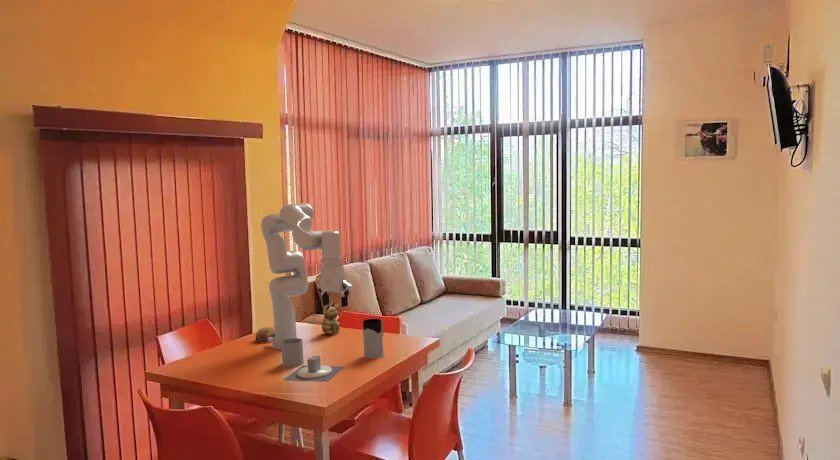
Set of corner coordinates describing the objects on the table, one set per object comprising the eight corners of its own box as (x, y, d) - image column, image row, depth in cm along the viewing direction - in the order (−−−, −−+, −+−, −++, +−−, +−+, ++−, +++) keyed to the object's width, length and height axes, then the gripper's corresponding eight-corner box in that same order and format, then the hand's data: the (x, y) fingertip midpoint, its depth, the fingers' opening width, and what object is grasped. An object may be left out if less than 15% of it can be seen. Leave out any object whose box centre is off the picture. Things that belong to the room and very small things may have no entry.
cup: (306, 362, 258) (304, 338, 257) (300, 368, 250) (299, 343, 249) (286, 362, 259) (284, 338, 258) (279, 368, 250) (278, 343, 250)
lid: (291, 378, 235) (290, 362, 235) (305, 367, 248) (304, 352, 247) (324, 379, 232) (323, 363, 232) (336, 368, 245) (335, 353, 244)
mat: (282, 381, 233) (282, 380, 233) (302, 366, 251) (302, 365, 251) (327, 383, 229) (327, 381, 229) (345, 368, 247) (345, 366, 247)
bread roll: (255, 347, 299) (248, 334, 296) (271, 334, 305) (264, 321, 302) (267, 351, 292) (259, 337, 289) (283, 337, 298) (276, 323, 295)
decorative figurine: (333, 336, 297) (331, 305, 296) (317, 335, 300) (315, 304, 299) (342, 331, 306) (341, 301, 305) (327, 330, 309) (325, 300, 308)
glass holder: (359, 358, 259) (357, 322, 257) (375, 349, 271) (373, 315, 270) (378, 360, 255) (376, 323, 254) (394, 350, 268) (392, 315, 267)
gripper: (309, 263, 249) (312, 306, 250) (342, 264, 239) (346, 308, 241) (322, 260, 255) (325, 302, 256) (355, 261, 246) (358, 305, 247)
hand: (335, 305), depth 249 cm, fingers open, 9 cm apart
